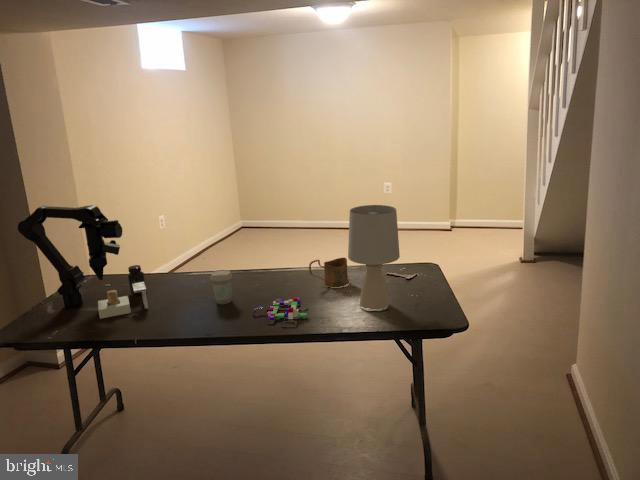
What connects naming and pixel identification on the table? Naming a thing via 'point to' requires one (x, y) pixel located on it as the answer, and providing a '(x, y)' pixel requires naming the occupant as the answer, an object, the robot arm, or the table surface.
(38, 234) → the robot arm
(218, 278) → the coffee cup
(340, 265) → the mug
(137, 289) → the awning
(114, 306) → the socket block
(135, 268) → the supplement bottle
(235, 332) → the table surface
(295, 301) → the building block set
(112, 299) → the peg
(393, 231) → the lamp
